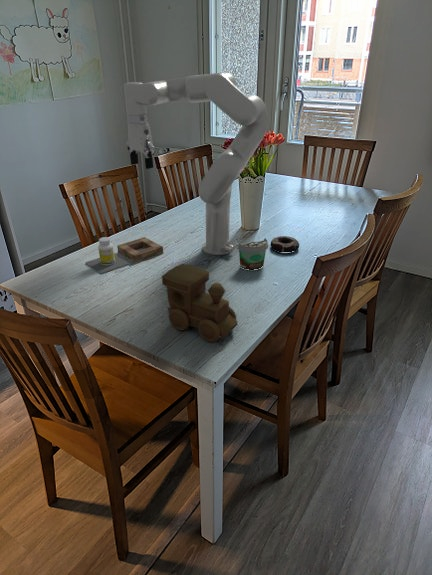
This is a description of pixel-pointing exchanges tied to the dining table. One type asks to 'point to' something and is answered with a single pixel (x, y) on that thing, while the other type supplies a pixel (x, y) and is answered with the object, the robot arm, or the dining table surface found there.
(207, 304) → the wooden toy train
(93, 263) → the rubber mat
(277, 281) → the dining table surface
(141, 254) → the socket block
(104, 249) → the supplement bottle
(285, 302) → the dining table surface
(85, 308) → the dining table surface
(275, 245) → the donut
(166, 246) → the dining table surface
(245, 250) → the food container
